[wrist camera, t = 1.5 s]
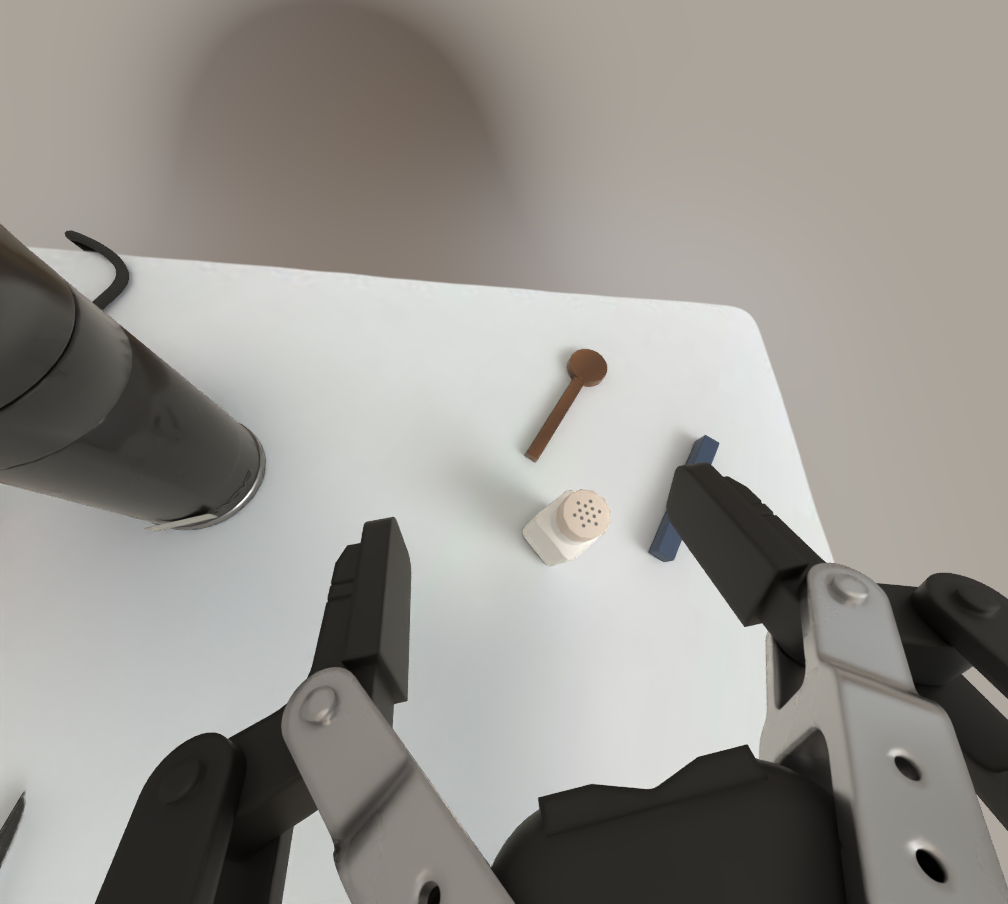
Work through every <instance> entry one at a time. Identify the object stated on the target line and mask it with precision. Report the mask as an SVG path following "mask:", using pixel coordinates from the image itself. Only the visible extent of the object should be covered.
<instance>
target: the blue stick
mask: <svg viewBox="0 0 1008 904" xmlns="http://www.w3.org/2000/svg"><path fill="white" fill-rule="evenodd" d="M718 446H719V442H717V441H715V440H713V439H712V438H710V437H708V436H707V435H704V436H703V437H701V438H700V439H698V440H697V441H696V442H695V444H694V447H693V449H692V451H691V454H690V456H689V458H688V461H687V463H686V465H689V464H695V463H700V462H707V463H709V464H712V461H713V459H714V456H715V454H716V451H717V448H718ZM681 541H682V539H681V537H680V536H679V534H678V533H677V532H676V530H675V529H674V527H673V526H672V524H671V523H670V520H669V518H668V514H667V510H666V513H665V515H664V518H663V520H662V522H661V525H660V527H659V529H658V532H657V534H656V536H655V539H654V541H653V544H652V546H651V548H650V551H649V553H650V554H652V555H654V556H655V557H657V558H658V559H660V560H662V561H663V562H667V561H673V560H674V558H675V556H676V553H677V551H678V548H679V546H680V543H681Z"/></svg>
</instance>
